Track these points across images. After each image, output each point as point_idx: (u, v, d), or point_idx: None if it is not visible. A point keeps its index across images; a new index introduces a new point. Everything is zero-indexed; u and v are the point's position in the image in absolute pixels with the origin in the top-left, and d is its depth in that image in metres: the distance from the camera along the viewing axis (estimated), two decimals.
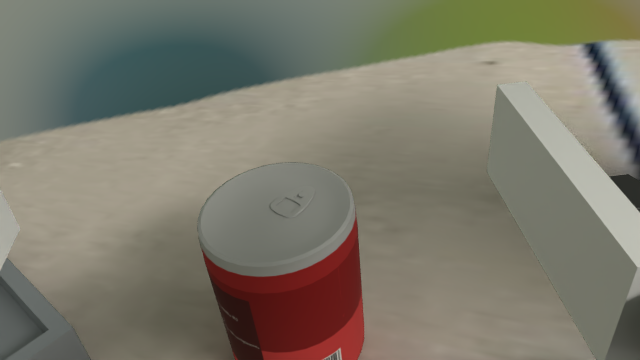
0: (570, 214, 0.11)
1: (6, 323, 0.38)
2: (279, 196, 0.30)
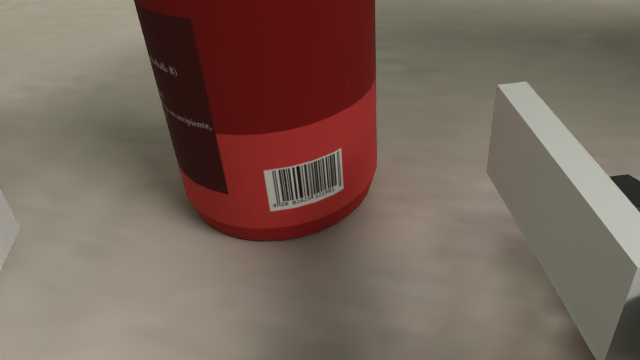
0: (570, 214, 0.11)
1: None
2: None
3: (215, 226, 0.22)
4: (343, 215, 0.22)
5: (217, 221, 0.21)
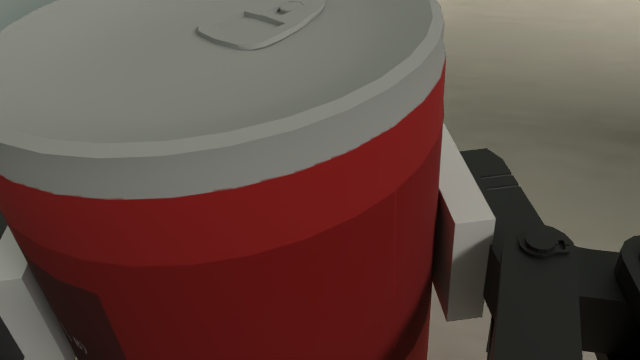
0: None
1: None
2: (228, 12, 0.11)
3: None
4: None
5: None
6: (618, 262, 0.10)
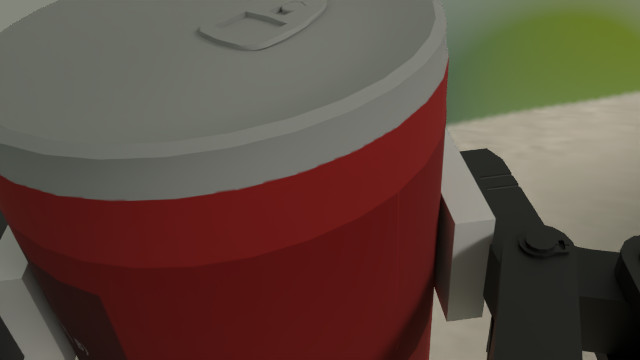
0: None
1: None
2: (230, 13, 0.11)
3: None
4: None
5: None
6: (618, 262, 0.10)
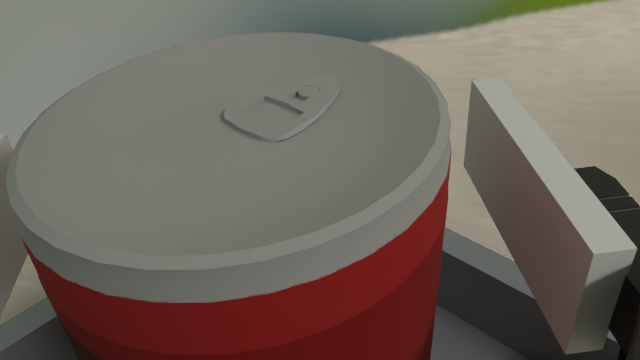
0: (536, 204, 0.12)
1: (439, 340, 0.20)
2: (250, 95, 0.12)
3: None
4: None
5: None
6: None
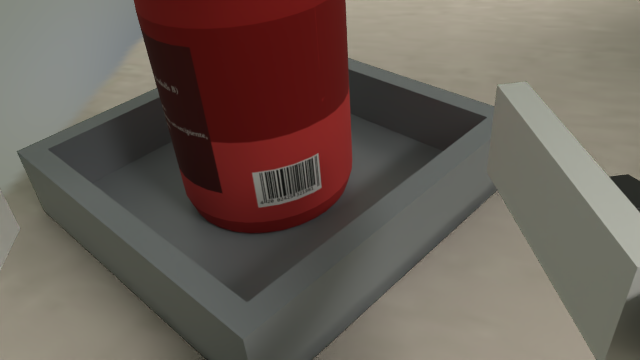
0: (570, 214, 0.11)
1: (371, 138, 0.30)
2: None
3: (211, 221, 0.25)
4: (322, 210, 0.25)
5: (213, 216, 0.24)
6: None
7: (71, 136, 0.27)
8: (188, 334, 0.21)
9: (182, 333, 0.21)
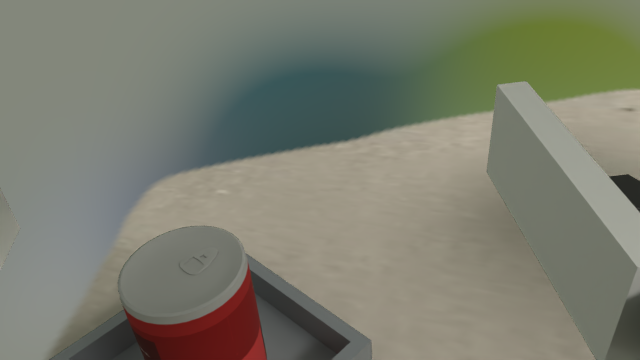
0: (570, 214, 0.11)
1: (285, 334, 0.44)
2: (189, 255, 0.37)
3: None
4: None
5: None
6: None
7: (83, 346, 0.41)
8: None
9: None
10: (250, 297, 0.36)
